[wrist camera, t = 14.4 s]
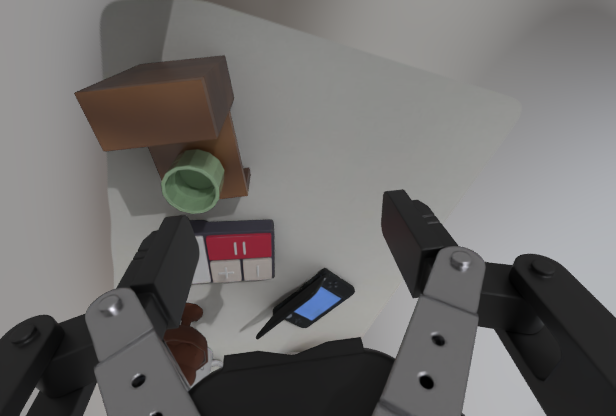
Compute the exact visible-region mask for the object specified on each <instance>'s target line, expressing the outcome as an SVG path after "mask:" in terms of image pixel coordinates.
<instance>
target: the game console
mask: <svg viewBox="0 0 616 416" xmlns="http://www.w3.org/2000/svg"><path fill="white" fill-rule="evenodd" d="M354 292H355V290H354V287H353V286H352V285H350V284H349V283H347V282H346V281H344V280H343V279H340V277H338V276H337V275H335V274H333V273H332V272H331V271H329V270H328V269H326V268H324V269H323V270H321V271H320V272H319V273H318V274H317V275H316V276H314V277H313V278H312V279H311V280H309V281H308V282H307V283H306V284H304V286H303V287H302V288H301V290H299V291H298V292H295V293H294V294H292V295H291V296H289V297H288V298H287V299H286V300H284V301H283V302H282V303H281V304H279V305H278V306H276V307H275V308H274V309H273V316H272V317H271V319H270V320H269V321H268V322H267V323H266V325H265V326H264V327H263V328H262V329H261V331H260V332H259V333H258V334H257V336H256V339H259V338H261V337H262V336H263V335H264V334H266V333H267V332H268V331H270V330H271V329H272V328H274V327H275V326H276V325H277V324H279V323H280V322H281V321H283V320H286V321H289V322H291V323H293V324H295V325H297V326H299V327H301V328H307V327H309V326H310V325H312V324H313V323H314V322H316V321H317V320H319V319H320V318H321V317H323V316H324V315H326V314H327V313H328V312H330V311H331V310H332V309H334V308H335V307H337V306H338V305H339V304H341V303H342V302H343V301H345V300H346V299H348V298H349V297H350V296H352V295H353V294H354Z"/></svg>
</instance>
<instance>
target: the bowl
mask: <svg viewBox="0 0 616 416" xmlns="http://www.w3.org/2000/svg"><path fill="white" fill-rule="evenodd" d="M223 183H224V168H223V167H222V165H221V163H220V161H219V160H218V159H217V158H216V157H214V156H213V155H212V154H211V153H209V152H205V151H202V150H199V149H198V150H197V149H196V150H187V151H184V152H183V153H181V154H180V155H178V156H177V157H176V158H175V160H174V161H173V163H172V164H171V166H170V167H169V169H168V171H167V172H166V174H165V176H164V178H163V180H162V182H161V187H162V194H163V196H164V197H165V199H166V200H167V201H168V203H169V204H170V205H172V206H173V207H175V208H176V209H178V210H179V211H182V212H186V213H191V214H197V213H204V212H206V211H208V210H210V209H212V208H213V207H214V206H215V205H216V203H217V201H218V200H219V197H220V194H221V190H222V187H223Z"/></svg>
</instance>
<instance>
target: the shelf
mask: <svg viewBox="0 0 616 416" xmlns="http://www.w3.org/2000/svg"><path fill="white" fill-rule="evenodd" d="M74 94H75V96H76V98H77V100H78V102H79V104H80V106H81V108H82V110H83V112H84V114H85V116H86V118H87V120H88V122H89V124H90V125H91V128H92V129H93V132H94V134H95V136H96V137H97V139H98V141H99V143H100V145H101V147H102V149H103V151H113V150H122V149H131V148H140V147H148V148H149V151H150V153H151V155H152V158H153V160H154V163H155V165H156V168H157V170H158V172H159V175H160V177H161V180H163V178H164V176H165V174H166V172H167V171H168V169H169V167H170V166H171V164H172V163H173V161H174V160H175V158H176V157H177V156H178V155H180V154H181V153H183V152H184V151H187V150H196V149H197V150H198V149H199V150H202V151H205V152H209V153H211V154H212V155H213V156H214V157H216V158H217V159H218V160H219V161H220V163H221V165H222V167H223V168H224V183H223V187H222V190H221V194H220V197H219V199H225V198H233V197H242V196H248V190H249V183H250V176H251V174H250V169H249V168H243V166H242V161H241V157H240V152H239V148H238V144H237V139H236V135H235V131H234V126H233V122H232V117H231V113H230V107H231V105H232V103H233V100H234V95H233V90H232V86H231V81H230V76H229V72H228V67H227V62H226V58H225V55H224V56H214V57H205V58H195V59H185V60H176V61H166V62H156V63H147V64H139V65H137V66H135V67H132V68H130V69H128V70H126V71H123V72H121V73H119V74H116V75H114V76H112V77H109V78H107V79H105V80H103V81H100V82H98V83H96V84H93V85H91V86H89V87H87V88H84V89H82V90H80V91H77V92H75V93H74Z"/></svg>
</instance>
